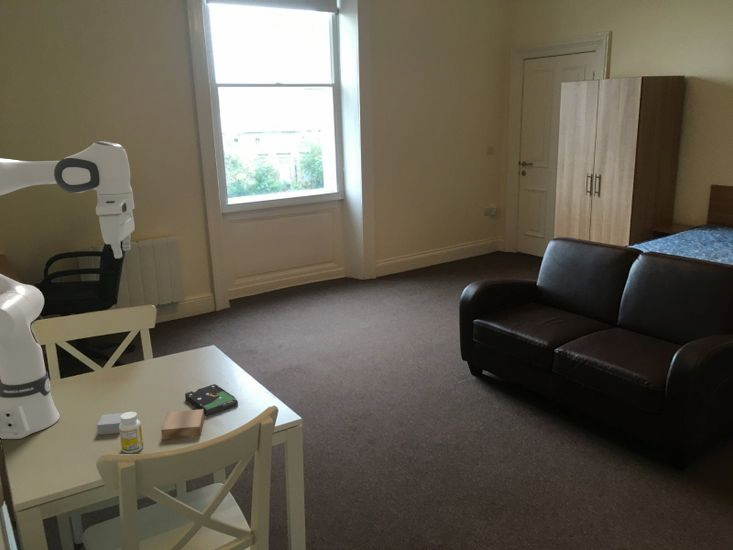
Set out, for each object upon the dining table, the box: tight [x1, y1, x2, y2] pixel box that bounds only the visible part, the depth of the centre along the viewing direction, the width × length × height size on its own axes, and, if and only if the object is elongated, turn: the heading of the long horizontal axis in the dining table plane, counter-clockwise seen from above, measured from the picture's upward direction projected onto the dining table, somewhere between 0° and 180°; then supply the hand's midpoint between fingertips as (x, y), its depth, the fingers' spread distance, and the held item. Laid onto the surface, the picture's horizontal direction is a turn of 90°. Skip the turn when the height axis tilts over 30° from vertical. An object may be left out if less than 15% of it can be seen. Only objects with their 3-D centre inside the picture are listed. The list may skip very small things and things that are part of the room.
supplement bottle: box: [119, 411, 144, 454], centre depth 158 cm, size 5×5×10 cm
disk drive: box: [184, 383, 239, 417], centre depth 183 cm, size 10×3×15 cm
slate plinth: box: [96, 412, 125, 436], centre depth 169 cm, size 6×6×3 cm
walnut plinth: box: [161, 409, 206, 441], centre depth 168 cm, size 10×10×3 cm
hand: (122, 253), depth 166 cm, fingers open, 8 cm apart
